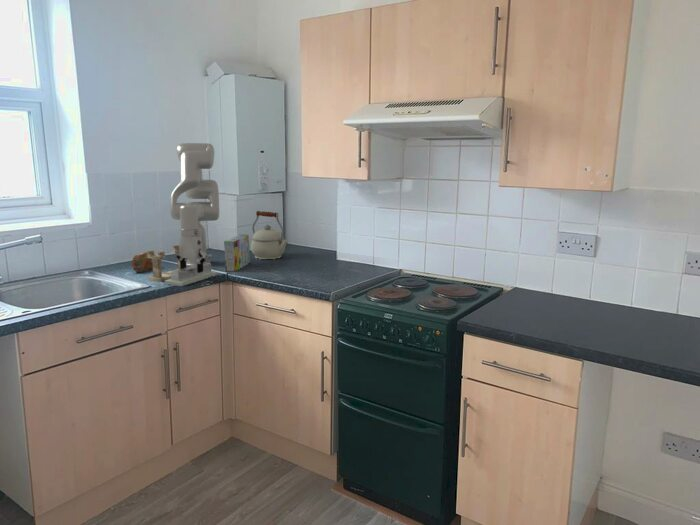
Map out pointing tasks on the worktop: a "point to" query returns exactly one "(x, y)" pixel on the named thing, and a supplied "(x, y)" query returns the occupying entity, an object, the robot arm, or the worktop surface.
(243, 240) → the snack box
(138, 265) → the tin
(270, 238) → the kettle
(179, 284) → the board
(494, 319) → the worktop surface
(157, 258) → the rack
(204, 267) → the rail
